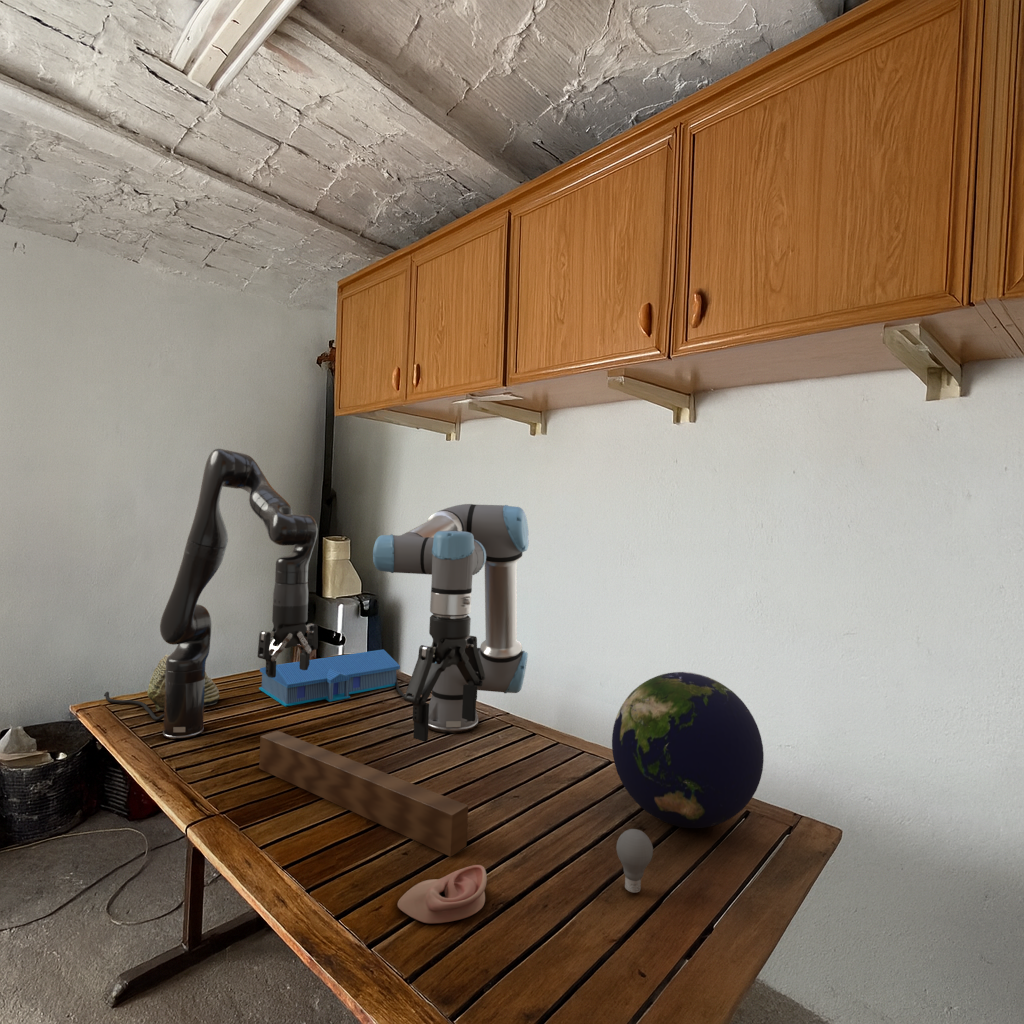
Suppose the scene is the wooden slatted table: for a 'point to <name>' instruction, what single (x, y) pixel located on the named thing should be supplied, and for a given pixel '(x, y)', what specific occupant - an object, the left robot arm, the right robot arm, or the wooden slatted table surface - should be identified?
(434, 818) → the beam
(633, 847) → the light bulb
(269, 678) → the model building
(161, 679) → the fossil
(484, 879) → the anatomical model
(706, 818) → the globe
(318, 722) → the wooden slatted table surface
